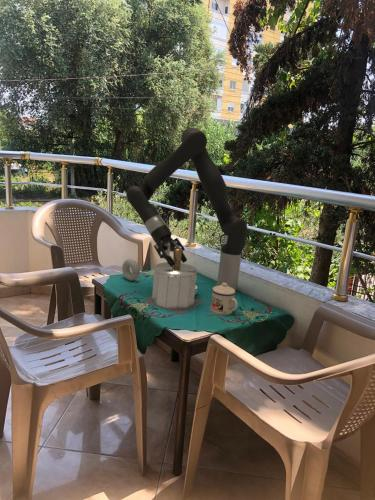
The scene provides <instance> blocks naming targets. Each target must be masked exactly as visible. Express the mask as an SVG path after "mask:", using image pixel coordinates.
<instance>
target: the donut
mask: <svg viewBox="0 0 375 500" xmlns="http://www.w3.org/2000/svg"><path fill="white" fill-rule="evenodd" d="M121 268H122V275H123V276H124V278H125V279H126V280H127V281H131V282H132V281H136V280H137V279H138V278H139V276H140V267H139V264H138V262H137V261H136V260H134V259H133V258H128V259H125V260H124V262H123V264H122V267H121Z"/></svg>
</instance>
